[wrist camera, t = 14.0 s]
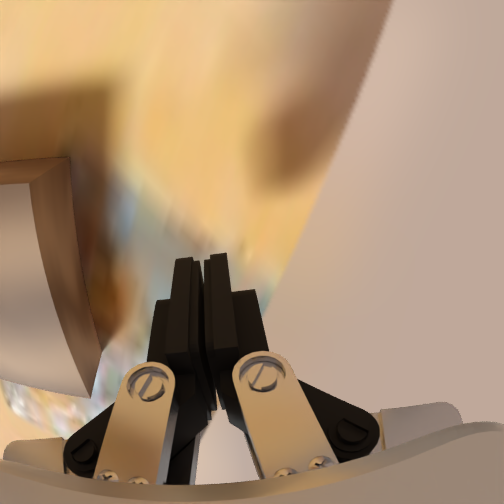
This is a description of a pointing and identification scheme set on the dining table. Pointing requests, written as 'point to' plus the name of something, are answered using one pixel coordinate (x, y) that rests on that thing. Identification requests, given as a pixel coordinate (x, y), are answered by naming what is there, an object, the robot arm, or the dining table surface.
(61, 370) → the slab
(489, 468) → the robot arm
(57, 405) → the dining table surface
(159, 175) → the dining table surface
